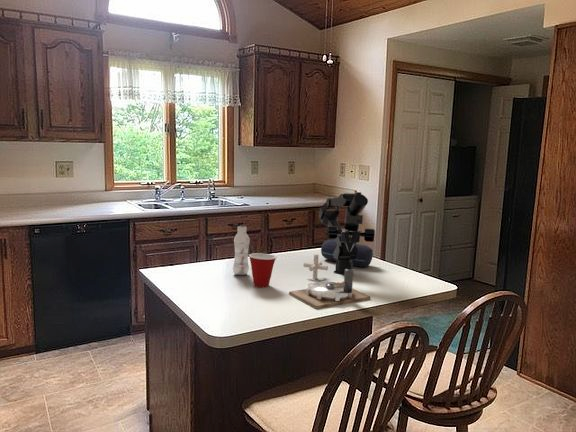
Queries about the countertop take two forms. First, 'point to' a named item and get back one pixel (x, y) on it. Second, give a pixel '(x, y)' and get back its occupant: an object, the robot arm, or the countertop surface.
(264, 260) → the plastic cup
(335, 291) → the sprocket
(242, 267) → the plastic bottle
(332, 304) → the base board
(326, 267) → the pipe connector
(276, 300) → the countertop surface
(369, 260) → the portable speaker
